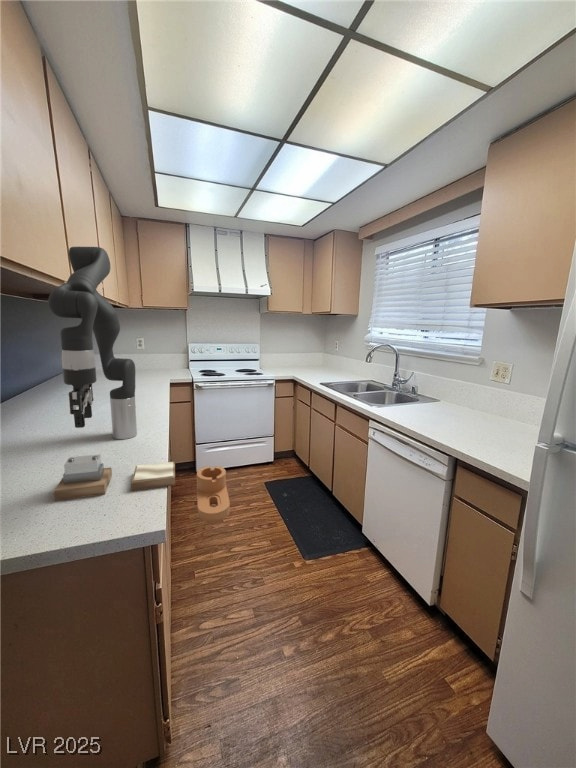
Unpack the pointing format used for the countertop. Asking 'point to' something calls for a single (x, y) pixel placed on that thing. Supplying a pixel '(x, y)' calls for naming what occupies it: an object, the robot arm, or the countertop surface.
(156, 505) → the countertop surface
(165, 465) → the stand
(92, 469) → the block
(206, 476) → the bracket
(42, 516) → the countertop surface
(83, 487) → the stand
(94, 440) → the countertop surface
